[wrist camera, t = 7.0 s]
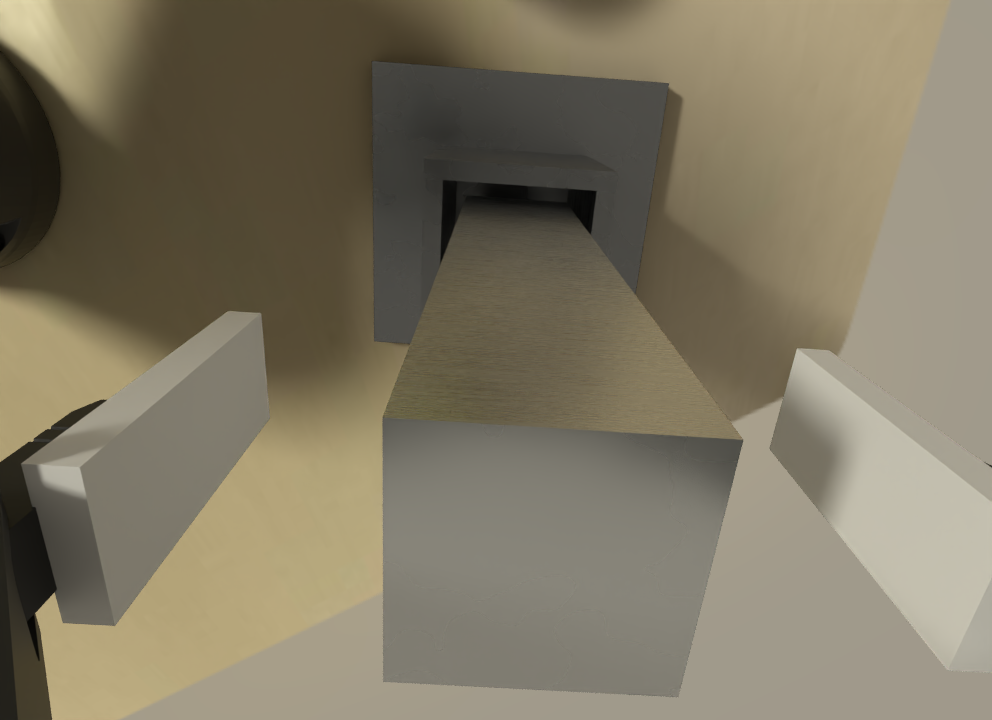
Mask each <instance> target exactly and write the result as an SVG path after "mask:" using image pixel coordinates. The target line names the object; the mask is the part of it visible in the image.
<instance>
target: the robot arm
mask: <svg viewBox="0 0 992 720" xmlns="http://www.w3.org/2000/svg"><path fill="white" fill-rule="evenodd" d="M59 189H60V170H59V161H58V154H57V150H56V145H55V142H54V138H53V135H52V132H51V129H50V126H49V124H48V121H47V119H46V117H45V114H44V112H43V110H42V108H41V106H40V104H39V102H38V100H37V99H36V97H35V95H34V94H33V92H32V90H31V89H30V87H29V86H28V84H27V83H26V81H25V80H24V79H23V77H22V76H21V75H20V73H19V72H18V71H17V69H16V68H15V67H14V66H13V65H12V64H11V62H10V61H9V60H8V59H7V58H6V57H5V56H4V55H3V54H2V53H1V52H0V267H3V266H5V265H8V264H10V263H12V262H14V261H16V260H18V259H20V258H21V257H23V256H24V255H25V254H27V253H28V252H29V251H31V250H32V249H33V248H34V247H35V246H36V245H37V244H38V242H39V241H40V240H41V239H42V237H43V236H44V234H45V233H46V231H47V230H48V228H49V226H50V224H51V222H52V219H53V217H54V214H55V211H56V207H57V203H58V197H59ZM269 419H270V414H269V401H268V389H267V377H266V365H265V352H264V340H263V328H262V316H261V313H252V312H237V311H227V312H226V313H225V314H223V315H222V316H221V317H219V318H218V319H217V320H215V321H214V322H212V323H211V324H210V325H208V326H207V327H206V328H204V329H203V330H202V331H200V332H199V333H198V334H196V335H195V336H193V337H192V338H191V339H189V340H188V341H187V342H185V343H184V344H183V345H181V346H180V347H179V348H177V349H176V350H174V351H173V352H172V353H170V354H169V355H168V356H166V357H165V358H164V359H162V360H161V361H160V362H158V363H157V364H155V365H154V366H153V367H151V368H150V369H149V370H147V371H146V372H145V373H143V374H142V375H141V376H139V377H138V378H136V379H135V380H134V381H132V382H131V383H130V384H128V385H127V386H126V387H124V388H123V389H122V390H120V391H119V392H118V393H116V394H115V395H113V396H112V397H111V398H109V399H108V400H99V401H97V402H94V403H92V404H89V405H87V406H85V407H82V408H80V409H77V410H75V411H72V412H71V413H69V414H68V415H67V416H65V417H64V418H62V419H61V420H59V421H58V422H57V423H55V424H54V425H52V426H51V429H47V430H45V431H44V432H42V433H41V434H40V435H38V436H37V437H35V438H34V441H33V442H28V443H27V444H25V445H24V446H23V447H21V448H20V449H18V450H17V451H15V452H14V453H13V454H11V455H10V456H8V457H7V458H5V459H4V460H3V461H1V462H0V720H52V716H51V708H50V701H49V693H48V685H47V678H46V670H45V663H44V655H43V648H42V640H41V633H40V629H39V625H38V622H37V618H36V614H35V613H36V612H37V611H38V609H39V608H40V607H41V606H42V605H43V604H44V603H45V602H46V601H47V600H48V599H49V598H50V596H51V595H52V594H53V593H54V592H55V595H56V599H57V602H58V606H59V610H60V614H61V618H62V621H63V623H73V624H91V625H110V626H115V625H116V624H117V622H118V621H119V620H120V618H121V617H122V616H123V614H124V613H125V612H126V610H127V609H128V608H129V606H130V605H131V604H132V602H133V601H134V600H135V598H136V597H137V596H138V594H139V593H140V592H141V590H142V589H143V588H144V586H145V585H146V584H147V582H148V581H149V580H150V578H151V577H152V575H153V574H154V573H155V571H156V570H157V569H158V567H159V566H160V565H161V563H162V562H163V561H164V559H165V558H166V557H167V555H168V554H169V553H170V551H171V550H172V549H173V547H174V546H175V545H176V543H177V542H178V541H179V539H180V538H181V537H182V535H183V534H184V533H185V531H186V530H187V529H188V527H189V526H190V525H191V523H192V522H193V521H194V519H195V518H196V516H197V515H198V514H199V512H200V511H201V510H202V508H203V507H204V506H205V504H206V503H207V502H208V500H209V499H210V498H211V496H212V495H213V494H214V492H215V491H216V490H217V488H218V487H219V486H220V484H221V483H222V482H223V480H224V479H225V478H226V476H227V475H228V474H229V472H230V471H231V470H232V468H233V467H234V466H235V464H236V463H237V462H238V460H239V459H240V458H241V456H242V455H243V453H244V452H245V451H246V449H247V448H248V447H249V445H250V444H251V443H252V441H253V440H254V439H255V437H256V436H257V435H258V433H259V432H260V431H261V429H262V428H263V427H264V425H265V424H266V423H267V421H268V420H269ZM770 450H771V451H772V453H773V454H774V455H775V456H776V458H777V459H778V460H779V461H780V463H781V464H782V465H783V466H784V467H785V469H786V470H787V471H788V473H789V474H790V475H791V476H792V477H793V479H794V480H795V481H796V482H797V484H798V485H799V486H800V487H801V489H802V490H803V491H804V492H805V494H806V495H807V496H808V497H809V499H810V500H811V501H812V502H813V504H814V505H815V506H816V507H817V508H818V510H819V511H820V512H821V513H822V515H823V516H824V517H825V519H826V520H827V521H828V522H829V523H830V525H831V526H832V527H833V528H834V530H835V531H836V532H837V533H838V535H839V536H840V537H841V538H842V539H843V541H844V542H845V543H846V545H847V546H848V547H849V548H850V550H851V551H852V552H853V553H854V555H855V556H856V557H857V558H858V559H859V561H860V562H861V563H862V565H863V566H864V567H865V568H866V569H867V571H868V572H869V573H870V574H871V576H872V577H873V578H874V579H875V581H876V582H877V583H878V584H879V585H880V587H881V588H882V589H883V591H884V592H885V593H886V594H887V596H888V597H889V598H890V599H891V601H892V602H893V603H894V604H895V606H896V607H897V608H898V609H899V610H900V612H901V613H902V614H903V616H904V617H905V618H906V619H907V621H908V622H909V623H910V624H911V625H912V627H913V628H914V629H915V630H916V631H917V633H918V634H919V635H920V637H921V638H922V639H923V640H924V642H925V643H926V644H927V645H928V647H929V648H930V649H931V650H932V651H933V653H934V654H935V655H936V656H937V658H938V659H939V660H940V662H941V663H942V664H943V665H944V667H945V668H946V669H947V670H948V671H966V672H967V671H968V672H985V673H992V466H991V465H989V464H987V463H985V462H983V461H982V460H980V459H979V458H977V457H976V456H975V455H973V454H972V453H971V452H969V451H968V450H966V449H965V448H964V447H962V446H961V445H959V444H958V443H957V442H955V441H954V440H952V439H951V438H950V437H948V436H947V435H946V434H944V433H943V432H941V431H940V430H939V429H937V428H936V427H935V426H933V425H932V424H930V423H929V422H928V421H926V420H925V419H923V418H922V417H921V416H919V415H918V414H916V413H915V412H914V411H912V410H911V409H909V408H908V407H907V406H905V405H904V404H903V403H901V402H900V401H899V400H897V399H896V398H894V397H893V396H892V395H890V394H889V393H887V392H886V391H885V390H883V389H882V388H880V387H879V386H878V385H876V384H875V383H874V382H872V381H871V380H869V379H868V378H867V377H865V376H864V375H862V374H861V373H860V372H858V371H857V370H856V369H854V368H853V367H851V366H850V365H848V364H847V363H846V362H844V361H843V360H842V359H840V358H839V357H838V356H836V355H835V354H833V353H832V352H831V351H829V350H818V349H803V348H797V350H796V354H795V357H794V361H793V365H792V368H791V372H790V376H789V379H788V383H787V387H786V390H785V394H784V398H783V401H782V405H781V409H780V413H779V416H778V420H777V423H776V427H775V431H774V434H773V438H772V442H771V445H770Z"/></svg>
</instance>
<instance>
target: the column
mask: <svg viewBox="0 0 992 720" xmlns="http://www.w3.org/2000/svg"><path fill="white" fill-rule="evenodd" d="M742 443H743V439H742V437H741V436H740V435H739V433H738V432H737V431H736V429H735V428H734V427H733V425H732V424H731V423H730V421H729V420H728V419H727V417H726V416H725V415H724V413H723V412H722V411H721V409H720V408H719V407H718V405H717V404H716V403H715V401H714V400H713V398H712V397H711V396H710V394H709V393H708V392H707V390H706V389H705V388H704V386H703V385H702V384H701V382H700V381H699V380H698V378H697V377H696V376H695V374H694V373H693V372H692V370H691V369H690V368H689V366H688V365H687V364H686V362H685V361H684V360H683V358H682V357H681V356H680V354H679V353H678V352H677V350H676V349H675V348H674V346H673V345H672V344H671V342H670V341H669V340H668V338H667V337H666V336H665V334H664V333H663V332H662V330H661V329H660V327H659V326H658V325H657V323H656V322H655V321H654V319H653V318H652V317H651V315H650V314H649V313H648V311H647V310H646V309H645V307H644V306H643V305H642V303H641V302H640V301H639V299H638V298H637V297H636V295H635V294H634V293H633V291H632V290H631V289H630V287H629V286H628V285H627V283H626V282H625V281H624V279H623V278H622V277H621V275H620V274H619V273H618V271H617V270H616V269H615V267H614V266H613V265H612V263H611V262H610V261H609V259H608V258H607V256H606V255H605V254H604V252H603V251H602V250H601V248H600V247H599V246H598V244H597V243H596V242H595V240H594V239H593V238H592V236H591V235H590V234H589V232H588V231H587V230H586V228H585V227H584V226H583V224H582V223H581V222H580V220H579V219H578V218H577V216H576V215H575V214H574V212H573V211H572V210H571V208H570V207H569V206H568V204H567V203H566V202H554V201H540V200H526V199H511V198H497V197H483V196H469V195H467V196H466V199H465V201H464V204H463V207H462V209H461V212H460V214H459V217H458V220H457V222H456V225H455V228H454V230H453V233H452V236H451V238H450V241H449V244H448V246H447V249H446V251H445V254H444V257H443V259H442V262H441V265H440V267H439V270H438V273H437V275H436V278H435V280H434V283H433V286H432V288H431V291H430V294H429V296H428V299H427V302H426V304H425V307H424V310H423V312H422V315H421V317H420V320H419V323H418V325H417V328H416V331H415V333H414V336H413V339H412V341H411V344H410V346H409V349H408V352H407V354H406V357H405V360H404V362H403V365H402V368H401V370H400V373H399V376H398V378H397V381H396V383H395V386H394V389H393V391H392V394H391V397H390V399H389V402H388V405H387V407H386V410H385V412H384V415H383V682H398V683H419V684H437V685H455V686H475V687H494V688H513V689H532V690H551V691H571V692H589V693H609V694H628V695H648V696H666V697H678V696H679V692H680V688H681V684H682V680H683V676H684V673H685V668H686V665H687V661H688V657H689V653H690V649H691V645H692V641H693V637H694V633H695V629H696V625H697V621H698V617H699V613H700V609H701V605H702V601H703V597H704V593H705V589H706V585H707V582H708V577H709V573H710V570H711V566H712V562H713V558H714V554H715V550H716V546H717V542H718V538H719V534H720V530H721V526H722V522H723V518H724V514H725V510H726V506H727V502H728V498H729V495H730V491H731V486H732V483H733V479H734V475H735V470H736V467H737V463H738V459H739V455H740V451H741V447H742Z"/></svg>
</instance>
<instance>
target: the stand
mask: <svg viewBox="0 0 992 720" xmlns="http://www.w3.org/2000/svg"><path fill="white" fill-rule="evenodd" d="M668 86H669V83H658V82H645V81H632V80H618V79H605V78H592V77H578V76H565V75H551V74H538V73H525V72H511V71H498V70H485V69H471V68H458V67H444V66H431V65H418V64H404V63H391V62H378V61H372V122H373V243H374V341H378V342H393V343H409V344H411V341H412V339H413V336H414V333H415V331H416V328H417V325H418V323H419V320H420V317H421V315H422V312H423V310H424V307H425V304H426V302H427V299H428V296H429V294H430V291H431V288H432V286H433V283H434V280H435V278H436V275H437V273H438V270H439V267H440V265H441V262H442V259H443V257H444V254H445V251H446V249H447V246H448V244H449V241H450V238H451V236H452V233H453V230H454V228H455V225H456V222H457V220H458V217H459V214H460V212H461V209H462V207H463V204H464V201H465V199H466V196H467V195H469V196H483V197H497V198H511V199H526V200H540V201H554V202H566V203H567V204H568V206H569V207H570V208H571V210H572V211H573V212H574V214H575V215H576V216H577V218H578V219H579V220H580V222H581V223H582V224H583V226H584V227H585V228H586V230H587V231H588V232H589V234H590V235H591V236H592V238H593V239H594V240H595V242H596V243H597V244H598V246H599V247H600V248H601V250H602V251H603V252H604V254H605V255H606V256H607V258H608V259H609V261H610V262H611V263H612V265H613V266H614V267H615V269H616V270H617V271H618V273H619V274H620V275H621V277H622V278H623V279H624V281H625V282H626V283H627V285H628V286H629V287H630V289H631V290H632V291H633V293H634V294H635V293H636V287H637V281H638V274H639V268H640V262H641V255H642V249H643V243H644V237H645V230H646V224H647V218H648V212H649V205H650V199H651V193H652V187H653V180H654V174H655V168H656V162H657V155H658V149H659V143H660V137H661V130H662V124H663V118H664V111H665V105H666V99H667V93H668Z"/></svg>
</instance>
